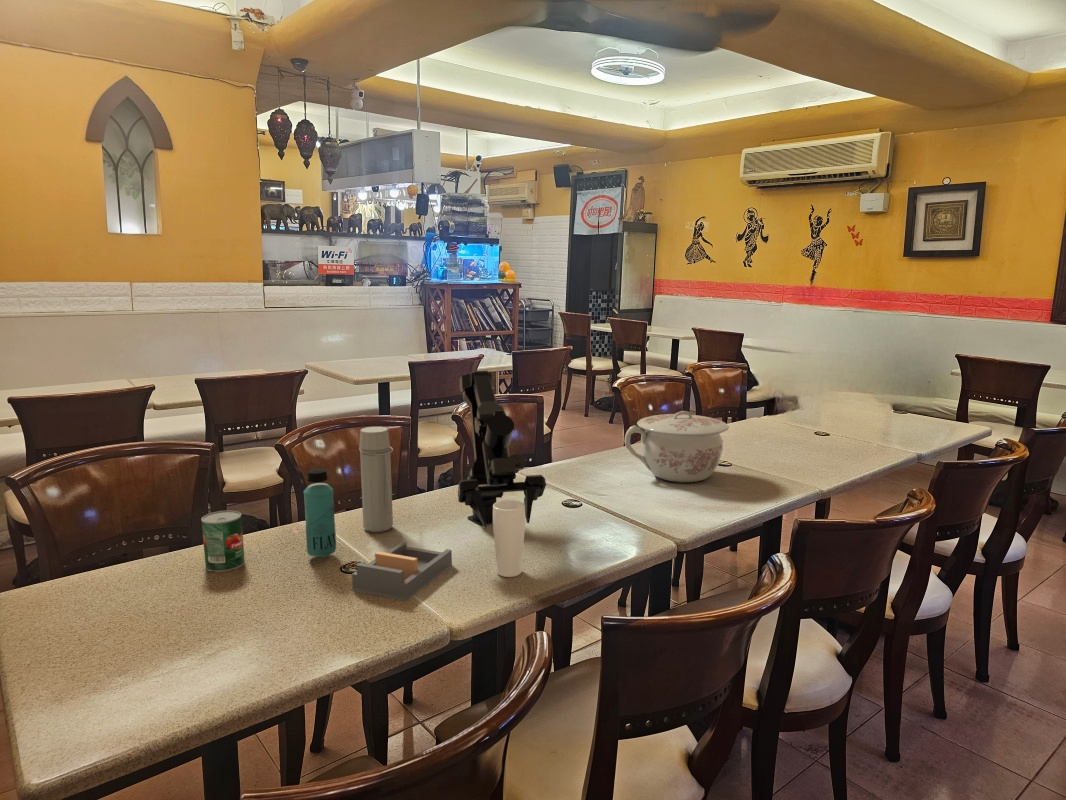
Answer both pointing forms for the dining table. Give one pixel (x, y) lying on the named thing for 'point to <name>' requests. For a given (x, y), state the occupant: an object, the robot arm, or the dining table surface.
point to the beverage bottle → (319, 515)
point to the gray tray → (401, 573)
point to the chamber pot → (679, 445)
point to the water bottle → (376, 478)
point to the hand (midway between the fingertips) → (507, 524)
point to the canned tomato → (223, 540)
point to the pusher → (397, 562)
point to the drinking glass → (509, 536)
